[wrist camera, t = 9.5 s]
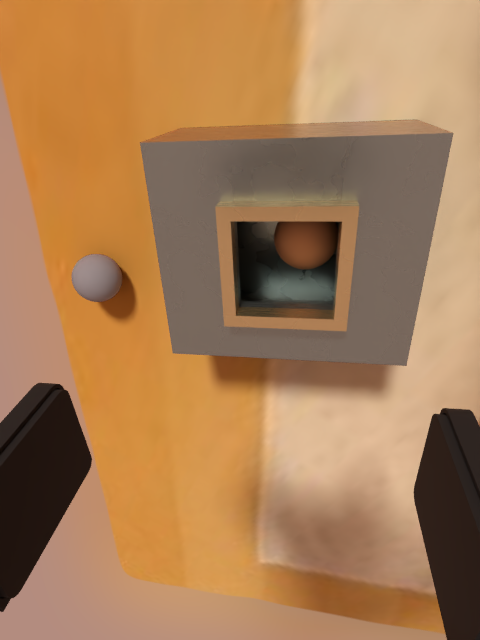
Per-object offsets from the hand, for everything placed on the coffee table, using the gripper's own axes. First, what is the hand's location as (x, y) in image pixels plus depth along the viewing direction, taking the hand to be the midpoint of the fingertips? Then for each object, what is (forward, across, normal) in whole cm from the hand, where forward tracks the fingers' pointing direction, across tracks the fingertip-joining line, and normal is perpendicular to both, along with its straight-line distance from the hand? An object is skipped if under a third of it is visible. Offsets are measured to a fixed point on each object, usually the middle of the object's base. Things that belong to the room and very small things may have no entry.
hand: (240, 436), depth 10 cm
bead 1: (+19, +16, +6) cm, 25 cm away
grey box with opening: (+23, 0, +2) cm, 23 cm away
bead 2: (+22, 0, +2) cm, 22 cm away
